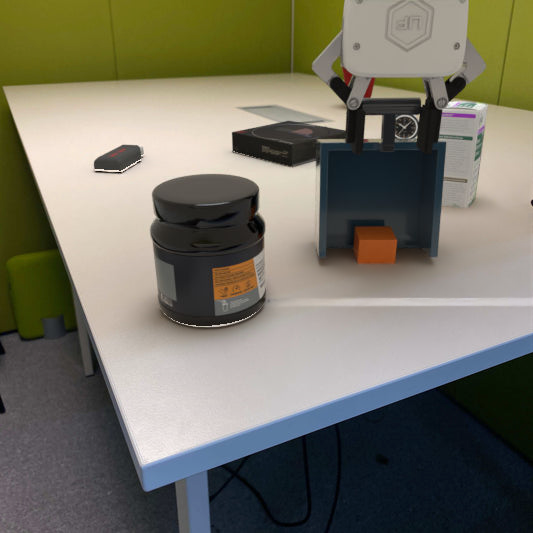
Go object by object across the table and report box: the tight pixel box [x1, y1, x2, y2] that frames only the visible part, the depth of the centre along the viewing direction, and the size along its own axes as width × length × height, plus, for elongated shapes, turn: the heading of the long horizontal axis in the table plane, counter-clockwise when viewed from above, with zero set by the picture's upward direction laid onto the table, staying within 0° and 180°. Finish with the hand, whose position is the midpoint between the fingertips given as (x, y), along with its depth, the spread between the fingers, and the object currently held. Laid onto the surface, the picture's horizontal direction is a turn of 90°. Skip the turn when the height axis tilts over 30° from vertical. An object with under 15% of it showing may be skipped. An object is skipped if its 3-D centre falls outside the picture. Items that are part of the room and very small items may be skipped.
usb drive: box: [93, 144, 145, 171], centre depth 102 cm, size 5×12×3 cm, turn 168°
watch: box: [395, 115, 419, 139], centre depth 91 cm, size 6×8×11 cm
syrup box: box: [439, 100, 489, 210], centre depth 75 cm, size 6×6×14 cm
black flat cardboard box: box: [231, 120, 346, 167], centre depth 110 cm, size 16×17×4 cm
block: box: [352, 226, 397, 265], centre depth 61 cm, size 4×4×4 cm
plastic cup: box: [340, 64, 377, 98], centre depth 153 cm, size 11×11×12 cm
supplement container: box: [149, 173, 267, 326], centre depth 51 cm, size 10×10×12 cm
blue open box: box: [314, 96, 446, 258], centre depth 58 cm, size 17×13×10 cm
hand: (390, 149), depth 52 cm, fingers closed on blue open box, 5 cm apart
